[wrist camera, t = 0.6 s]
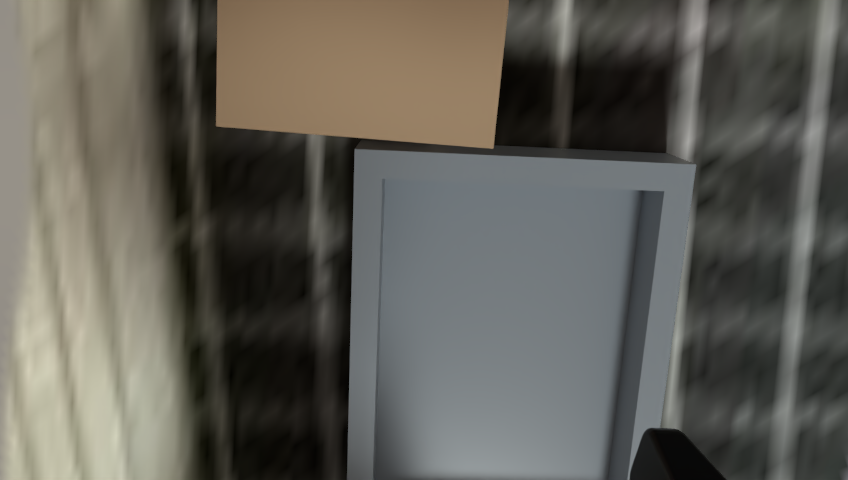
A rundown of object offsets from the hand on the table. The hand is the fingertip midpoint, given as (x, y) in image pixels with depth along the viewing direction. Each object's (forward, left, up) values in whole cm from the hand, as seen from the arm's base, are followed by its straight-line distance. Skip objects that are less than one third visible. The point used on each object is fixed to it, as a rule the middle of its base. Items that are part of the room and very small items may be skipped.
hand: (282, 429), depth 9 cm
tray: (-5, -5, -15) cm, 16 cm away
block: (+6, -1, -15) cm, 16 cm away
